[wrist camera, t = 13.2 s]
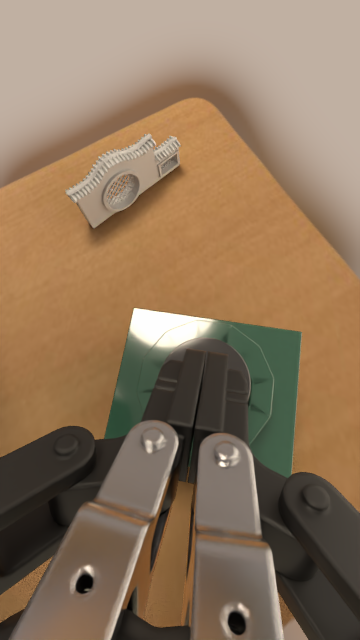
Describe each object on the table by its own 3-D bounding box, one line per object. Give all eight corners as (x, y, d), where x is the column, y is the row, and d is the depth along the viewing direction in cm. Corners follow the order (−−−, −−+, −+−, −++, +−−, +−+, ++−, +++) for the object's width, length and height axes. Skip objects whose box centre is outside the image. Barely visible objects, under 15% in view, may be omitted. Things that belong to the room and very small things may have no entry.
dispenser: (130, 439, 26) (87, 454, 17) (151, 334, 28) (125, 294, 19) (265, 465, 25) (303, 498, 15) (275, 353, 27) (314, 321, 18)
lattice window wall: (173, 156, 34) (167, 105, 28) (184, 166, 34) (180, 116, 28) (84, 222, 32) (58, 182, 27) (93, 233, 32) (69, 195, 26)
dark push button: (158, 420, 17) (150, 420, 15) (172, 341, 18) (167, 330, 16) (239, 435, 17) (245, 438, 14) (249, 353, 18) (256, 344, 15)
